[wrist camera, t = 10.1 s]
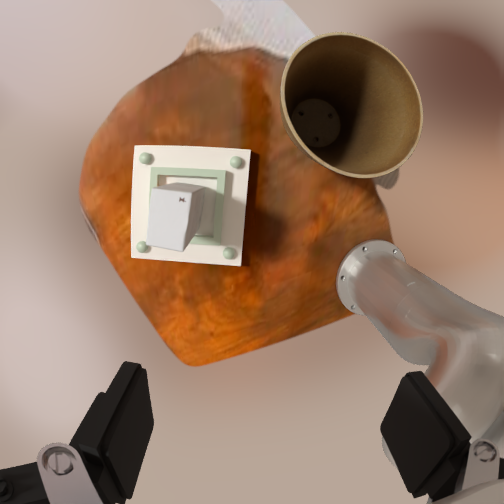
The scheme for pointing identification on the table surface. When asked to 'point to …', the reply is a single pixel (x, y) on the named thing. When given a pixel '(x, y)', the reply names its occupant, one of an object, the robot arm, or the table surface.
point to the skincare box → (174, 215)
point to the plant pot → (351, 105)
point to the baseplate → (214, 207)
